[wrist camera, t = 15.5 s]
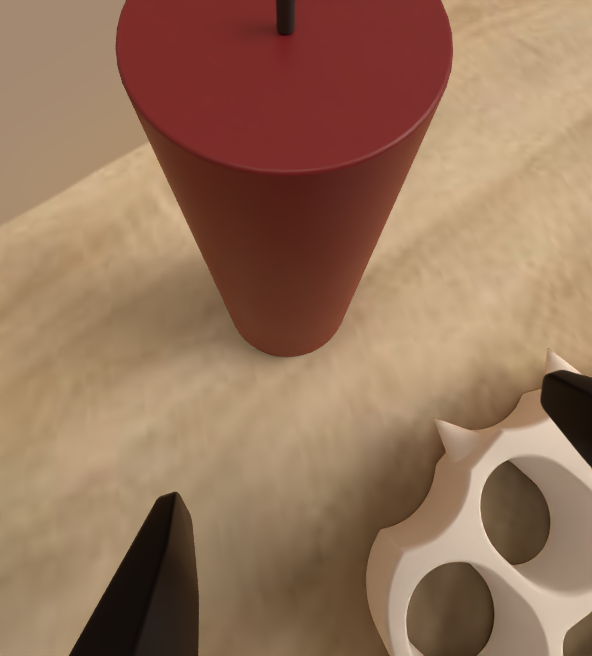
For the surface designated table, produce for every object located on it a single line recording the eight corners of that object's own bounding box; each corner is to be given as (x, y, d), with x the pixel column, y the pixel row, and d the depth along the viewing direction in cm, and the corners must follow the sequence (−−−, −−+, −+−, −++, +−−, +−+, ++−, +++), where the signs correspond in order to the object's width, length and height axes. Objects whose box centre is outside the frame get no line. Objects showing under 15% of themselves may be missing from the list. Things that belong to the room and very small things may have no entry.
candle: (368, 310, 19) (553, 12, 6) (276, 381, 18) (241, 215, 5) (297, 227, 20) (315, -179, 7) (206, 289, 19) (23, -48, 6)
